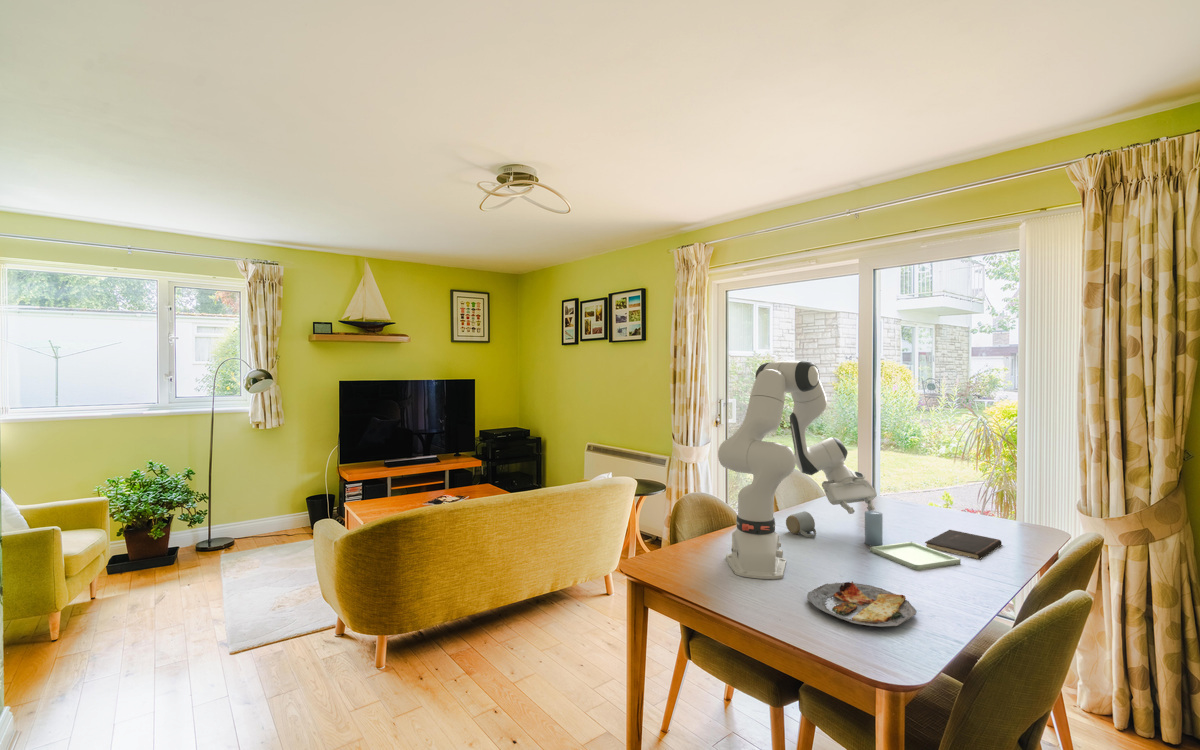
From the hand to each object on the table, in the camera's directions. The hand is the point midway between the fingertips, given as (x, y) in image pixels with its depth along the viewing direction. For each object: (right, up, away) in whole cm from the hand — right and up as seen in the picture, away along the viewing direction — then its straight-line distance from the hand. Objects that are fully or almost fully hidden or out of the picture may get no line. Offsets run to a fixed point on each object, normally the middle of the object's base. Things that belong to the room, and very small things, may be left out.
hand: (862, 511), depth 192 cm
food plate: (-28, -11, -55) cm, 63 cm away
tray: (+8, -10, -18) cm, 22 cm away
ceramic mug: (-19, -11, +7) cm, 23 cm away
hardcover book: (+32, -11, -7) cm, 34 cm away
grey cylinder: (+2, -10, -5) cm, 11 cm away
